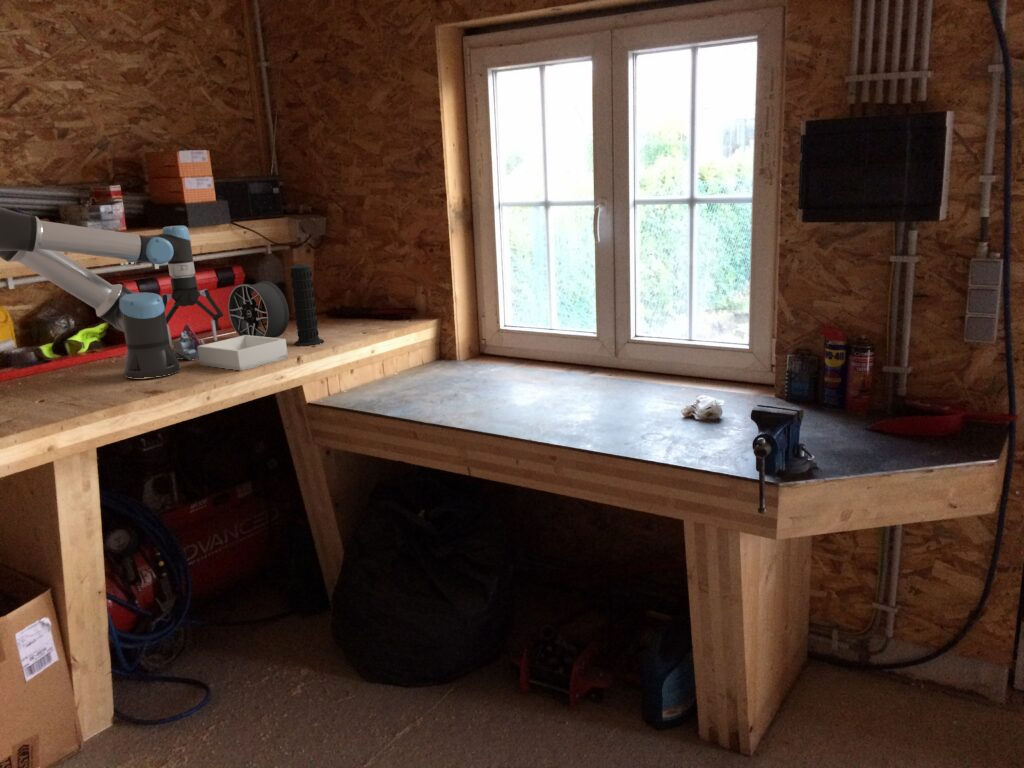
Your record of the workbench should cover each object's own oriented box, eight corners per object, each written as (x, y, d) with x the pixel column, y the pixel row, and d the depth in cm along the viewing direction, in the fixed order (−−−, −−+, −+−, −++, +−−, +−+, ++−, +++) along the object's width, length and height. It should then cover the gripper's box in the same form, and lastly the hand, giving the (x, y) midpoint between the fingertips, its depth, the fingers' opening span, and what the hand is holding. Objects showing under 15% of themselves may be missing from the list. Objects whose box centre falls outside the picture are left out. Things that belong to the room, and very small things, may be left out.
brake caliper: (219, 347, 274) (195, 322, 266) (199, 374, 269) (173, 349, 261) (198, 344, 281) (174, 320, 273) (178, 370, 276) (152, 346, 268)
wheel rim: (232, 340, 297) (224, 283, 292) (253, 335, 305) (246, 279, 300) (271, 345, 286) (264, 285, 281) (292, 339, 294) (285, 281, 289)
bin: (240, 371, 250) (237, 351, 249) (200, 365, 261) (197, 346, 259) (287, 358, 264) (285, 339, 263) (247, 353, 275) (245, 334, 274)
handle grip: (319, 345, 281) (328, 339, 290) (310, 264, 274) (319, 261, 284) (289, 346, 282) (299, 340, 291) (279, 266, 275) (290, 262, 285)
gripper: (140, 282, 258) (152, 350, 263) (226, 272, 269) (235, 339, 274) (138, 279, 264) (150, 346, 270) (222, 270, 275) (231, 335, 281)
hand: (193, 343), depth 272 cm, fingers open, 13 cm apart
